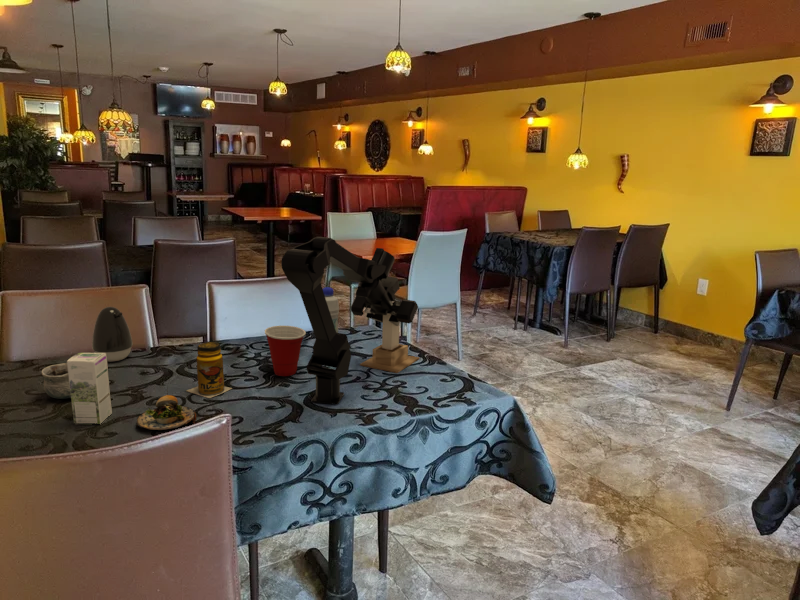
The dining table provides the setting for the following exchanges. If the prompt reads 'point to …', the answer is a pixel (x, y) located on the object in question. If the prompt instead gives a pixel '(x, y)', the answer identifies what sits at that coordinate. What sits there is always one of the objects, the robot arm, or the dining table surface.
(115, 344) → the dark grey egg shape
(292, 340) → the plastic cup
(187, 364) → the dining table surface
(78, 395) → the syrup box
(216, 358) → the condiment
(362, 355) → the dining table surface
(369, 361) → the wooden socket base
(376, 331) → the dining table surface
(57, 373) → the mug
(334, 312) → the bottle
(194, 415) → the burger
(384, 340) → the tan rectangular block
